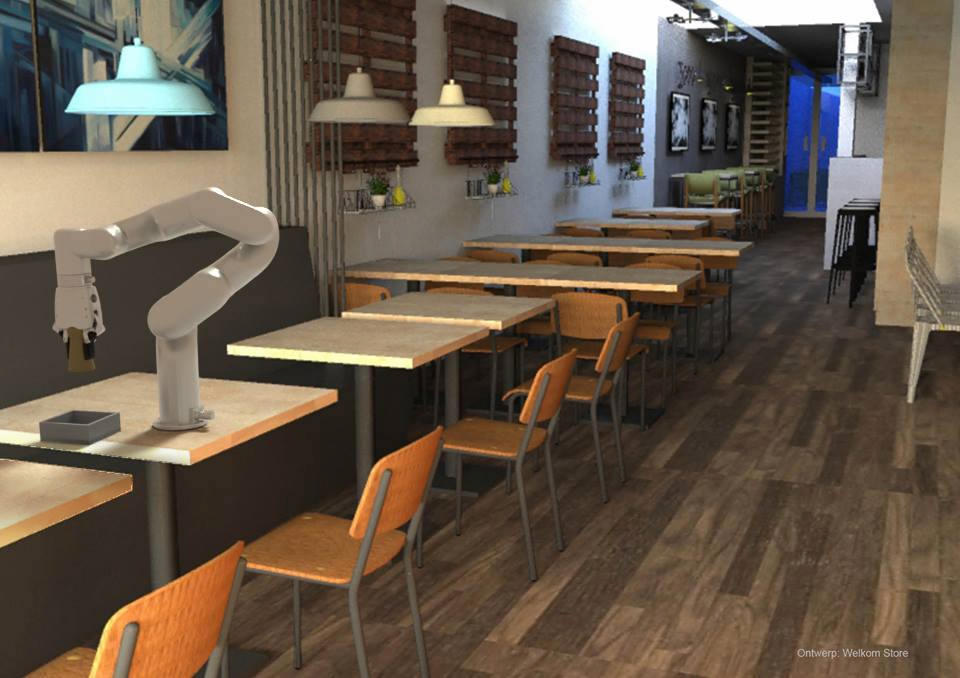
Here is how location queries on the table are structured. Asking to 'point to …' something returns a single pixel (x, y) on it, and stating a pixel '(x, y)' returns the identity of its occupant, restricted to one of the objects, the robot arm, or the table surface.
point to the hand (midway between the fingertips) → (81, 357)
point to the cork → (78, 352)
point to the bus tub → (80, 427)
